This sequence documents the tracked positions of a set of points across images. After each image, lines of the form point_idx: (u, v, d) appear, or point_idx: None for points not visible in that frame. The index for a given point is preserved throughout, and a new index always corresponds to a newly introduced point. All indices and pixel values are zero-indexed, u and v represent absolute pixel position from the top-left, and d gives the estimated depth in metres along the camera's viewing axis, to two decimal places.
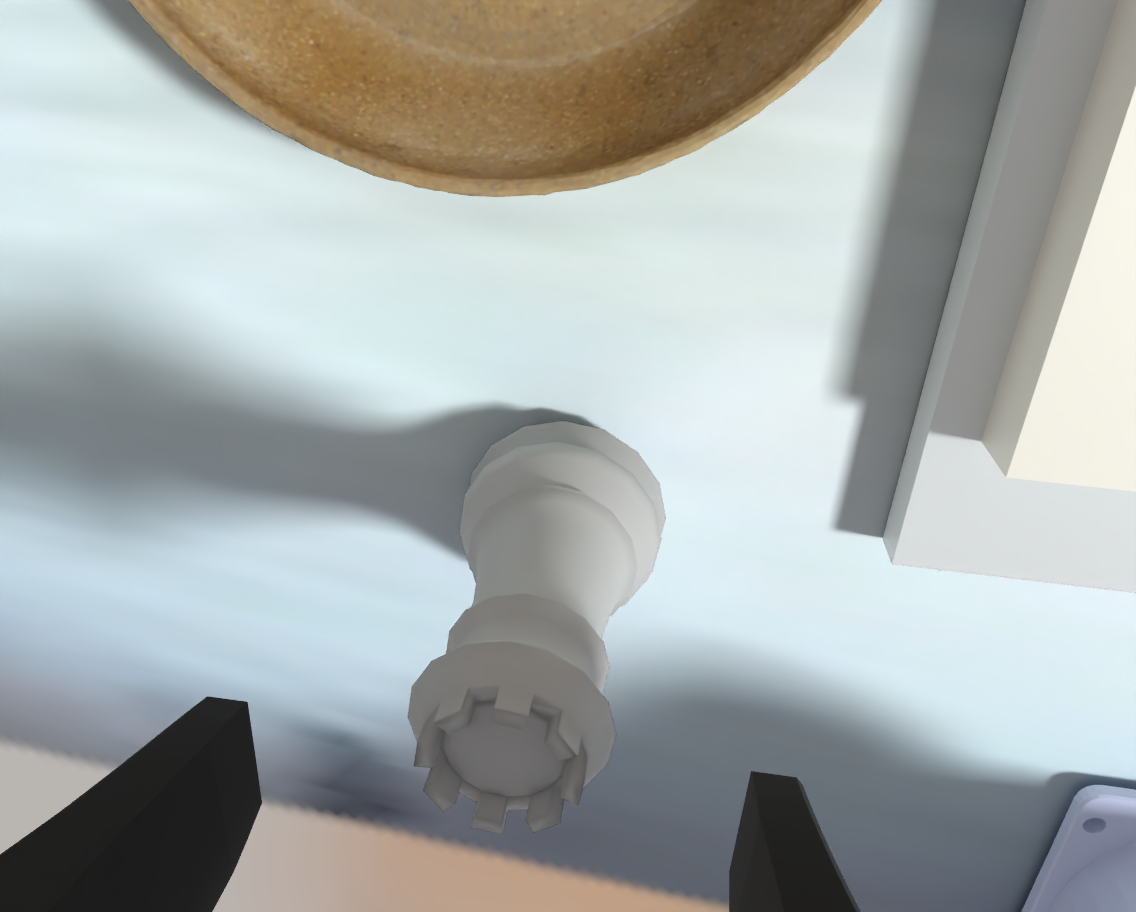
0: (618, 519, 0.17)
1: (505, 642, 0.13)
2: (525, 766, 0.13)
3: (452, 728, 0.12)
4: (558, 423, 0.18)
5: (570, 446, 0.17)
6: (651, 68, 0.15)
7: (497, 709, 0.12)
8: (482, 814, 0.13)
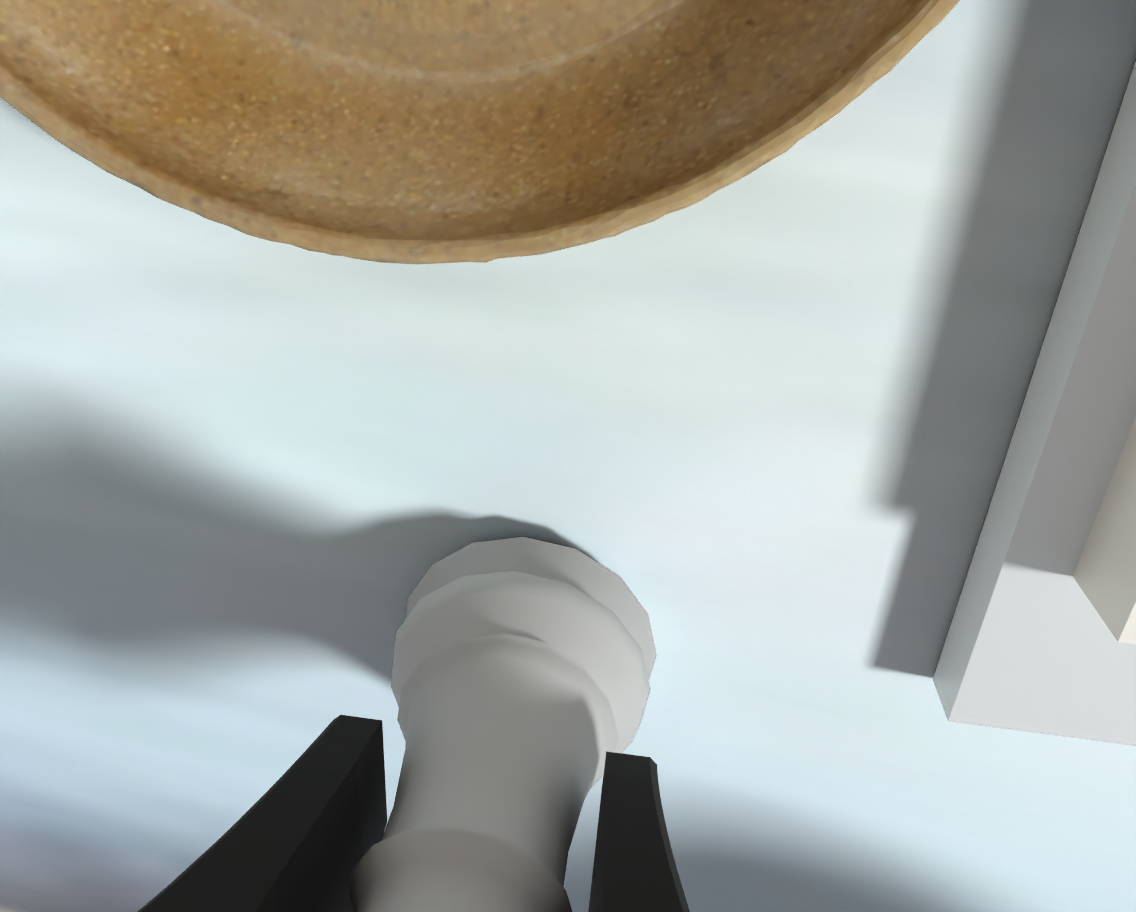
0: (592, 678, 0.13)
1: None
2: None
3: None
4: (517, 540, 0.14)
5: (530, 577, 0.13)
6: (635, 84, 0.11)
7: None
8: None
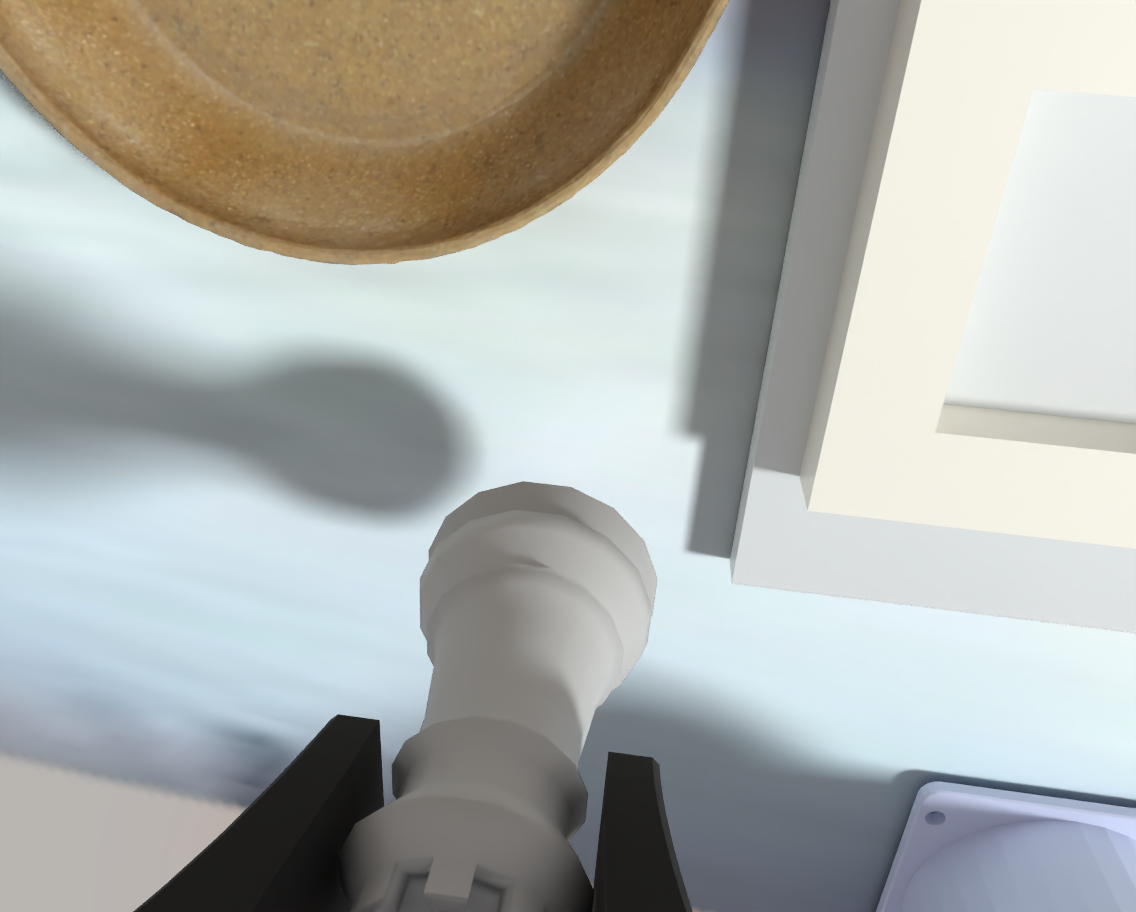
0: (593, 595, 0.14)
1: (438, 797, 0.10)
2: None
3: None
4: (518, 485, 0.16)
5: (530, 513, 0.15)
6: (491, 151, 0.17)
7: (427, 894, 0.09)
8: None
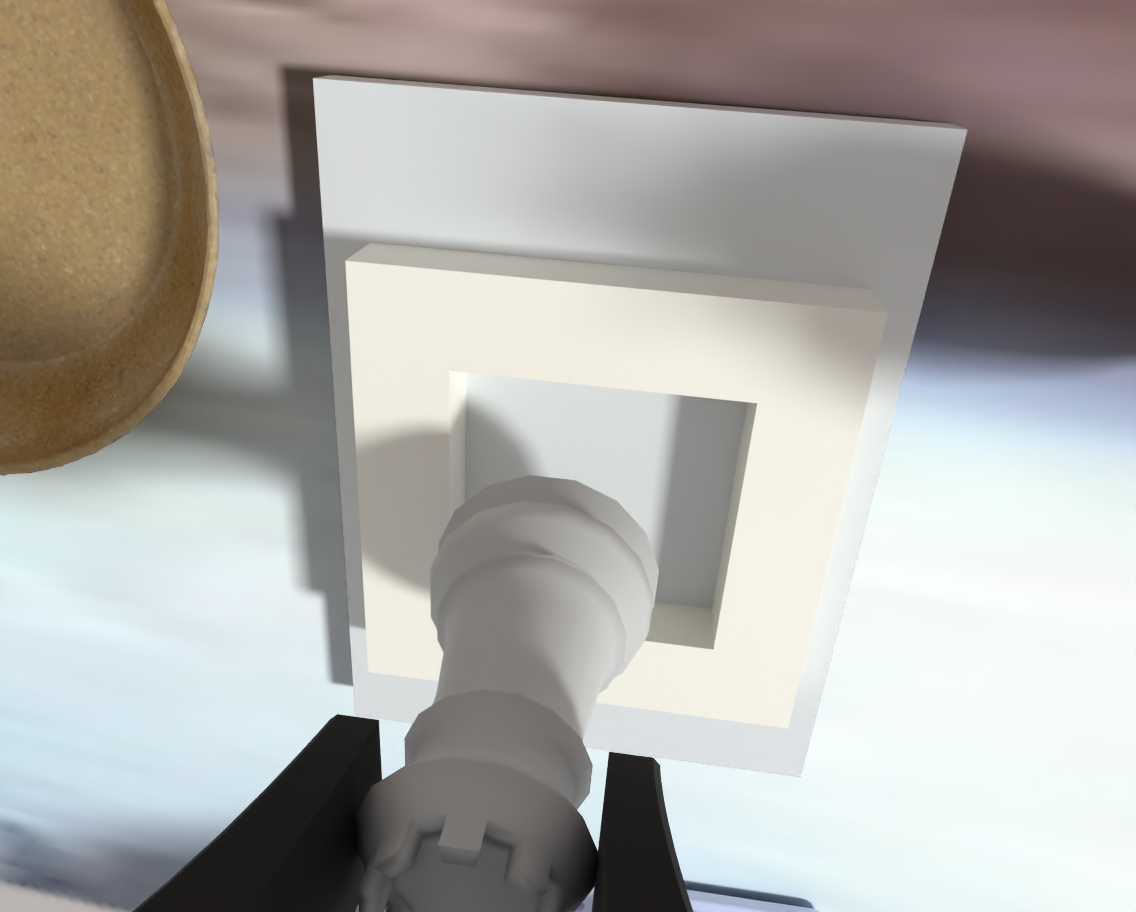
0: (597, 582, 0.15)
1: (451, 759, 0.11)
2: (491, 903, 0.11)
3: (396, 871, 0.10)
4: (525, 478, 0.16)
5: (537, 504, 0.15)
6: (91, 378, 0.20)
7: (441, 847, 0.10)
8: None
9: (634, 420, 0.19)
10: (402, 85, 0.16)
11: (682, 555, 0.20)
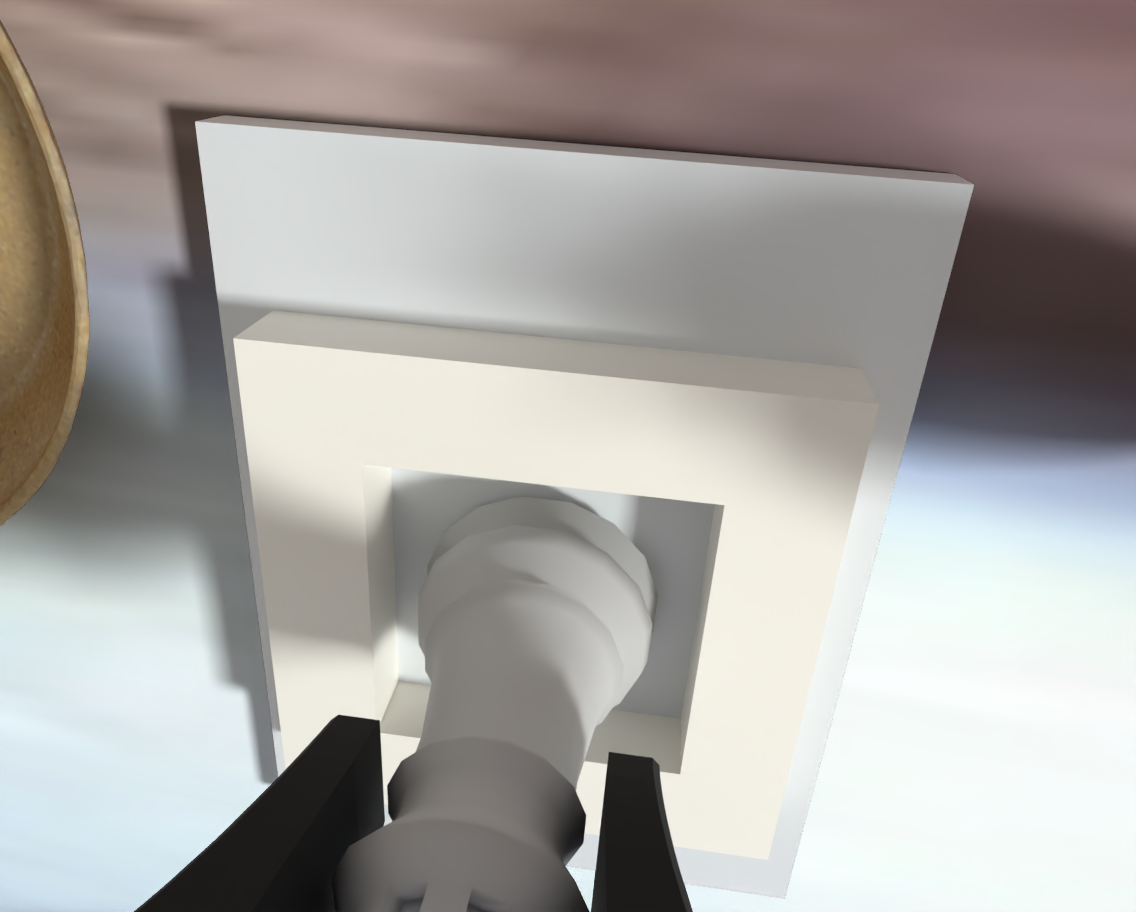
0: (593, 612, 0.14)
1: (433, 820, 0.10)
2: None
3: None
4: (517, 500, 0.16)
5: (529, 529, 0.15)
6: None
7: None
8: None
9: None
10: (300, 130, 0.14)
11: None
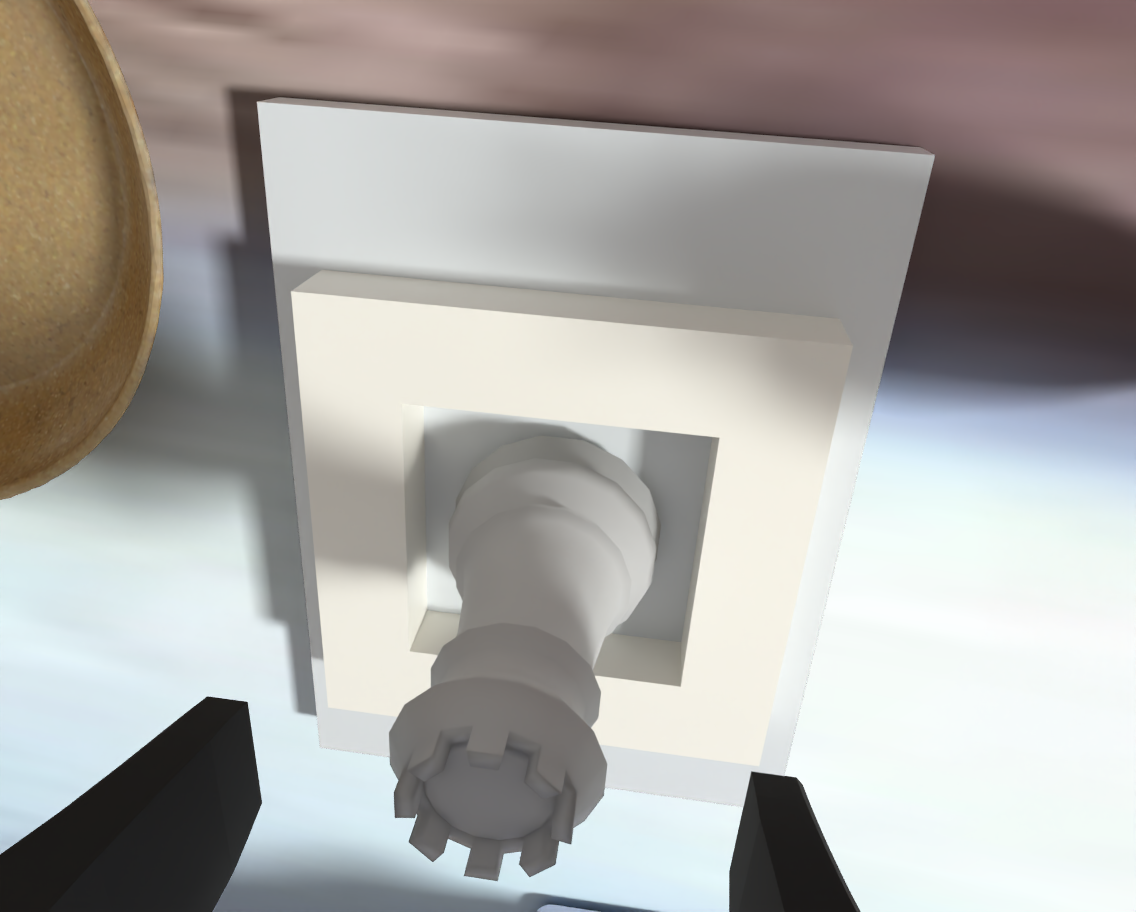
0: (605, 532, 0.16)
1: (476, 678, 0.12)
2: (512, 807, 0.12)
3: (427, 775, 0.12)
4: (536, 438, 0.18)
5: (548, 461, 0.17)
6: (41, 406, 0.20)
7: (469, 751, 0.11)
8: (474, 861, 0.12)
9: None
10: (349, 109, 0.16)
11: (649, 588, 0.19)
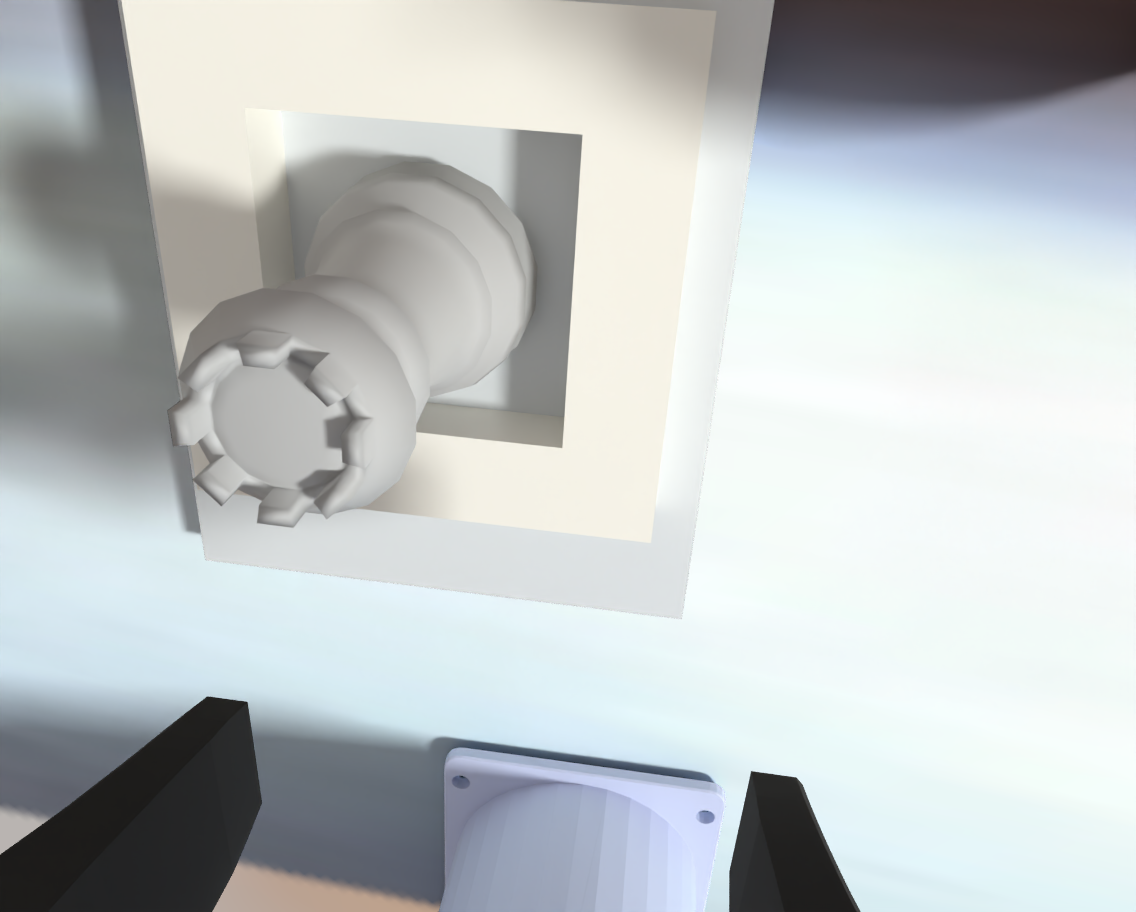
0: (461, 242, 0.15)
1: (262, 288, 0.11)
2: (304, 436, 0.11)
3: (202, 387, 0.11)
4: (399, 165, 0.16)
5: (405, 175, 0.16)
6: None
7: (239, 343, 0.10)
8: (266, 505, 0.11)
9: None
10: None
11: (534, 353, 0.18)
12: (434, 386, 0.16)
